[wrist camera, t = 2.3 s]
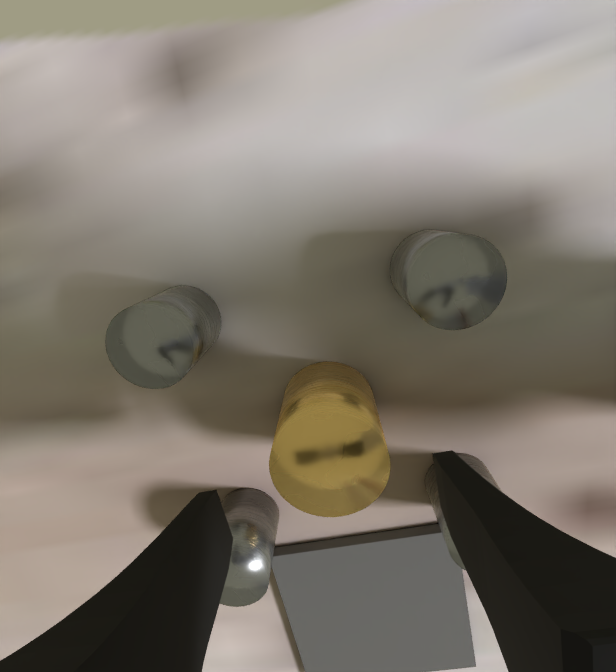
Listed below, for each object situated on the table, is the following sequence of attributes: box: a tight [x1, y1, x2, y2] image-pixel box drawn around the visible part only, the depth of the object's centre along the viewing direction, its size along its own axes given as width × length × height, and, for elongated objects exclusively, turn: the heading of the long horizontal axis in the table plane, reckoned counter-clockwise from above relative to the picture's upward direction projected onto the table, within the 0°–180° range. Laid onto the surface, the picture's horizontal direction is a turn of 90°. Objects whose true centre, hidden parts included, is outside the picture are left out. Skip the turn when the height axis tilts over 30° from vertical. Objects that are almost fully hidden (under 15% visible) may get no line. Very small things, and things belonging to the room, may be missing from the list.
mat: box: [272, 524, 476, 672], centre depth 22 cm, size 10×10×1 cm
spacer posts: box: [105, 230, 507, 607], centre depth 17 cm, size 14×14×4 cm
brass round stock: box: [269, 362, 390, 517], centre depth 17 cm, size 4×4×5 cm
